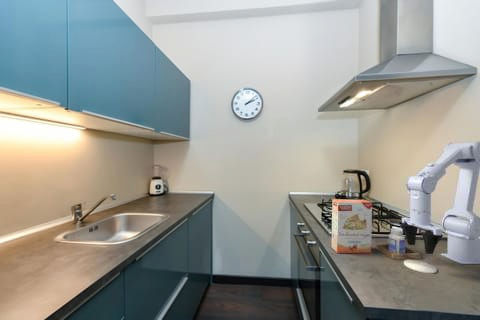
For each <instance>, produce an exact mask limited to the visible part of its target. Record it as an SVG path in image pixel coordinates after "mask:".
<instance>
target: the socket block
mask: <svg viewBox="0 0 480 320" xmlns="http://www.w3.org/2000/svg"><path fill="white" fill-rule="evenodd" d="M374 247H375V249H377V250H378V251H380V252H381V253H383V254H384V255H385V256H387V257H389V258H390V259H391V260H397V261H398V260H422V254H421V253H419V252H417V251H415V250H413V249H411V248H409V247H407V246H405V254H394V253H392V252H390V251H389V243H375V245H374Z"/></svg>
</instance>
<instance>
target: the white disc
mask: <svg viewBox="0 0 480 320" xmlns="http://www.w3.org/2000/svg"><path fill="white" fill-rule="evenodd" d="M403 265H404V267H407V268H408V269H410V270H413V271H416V272H418V273H423V274H435V273H437V271H438V269H437V267H435V266H434V265H432V264H431V263H428V262H426V261H422V260H419V259H404V261H403Z"/></svg>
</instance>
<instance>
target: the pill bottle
mask: <svg viewBox="0 0 480 320" xmlns="http://www.w3.org/2000/svg"><path fill="white" fill-rule="evenodd" d="M403 234H404V231H403V229H402V228H401V229H400V228H398V227H397V228H396V227H395V228H394V227H392V228H390V233H388V244H389V248H388V250H389V251H390V252H392V253H394V254H406V252H405V247H406V236H405V235H403Z"/></svg>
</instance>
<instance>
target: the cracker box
mask: <svg viewBox="0 0 480 320" xmlns="http://www.w3.org/2000/svg"><path fill="white" fill-rule="evenodd" d="M331 203H332V206H331V207H332V209H331V215H332V216H331V248H332V249H333V251H335V253H336V254H371V253H372V229H373V226H372V225H373V222H372V221H373V220H372V219H373V202H372V201H371V200H370V201H369V200H366V199H342V198H341V199H335V198H333V199H332V201H331Z"/></svg>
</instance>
